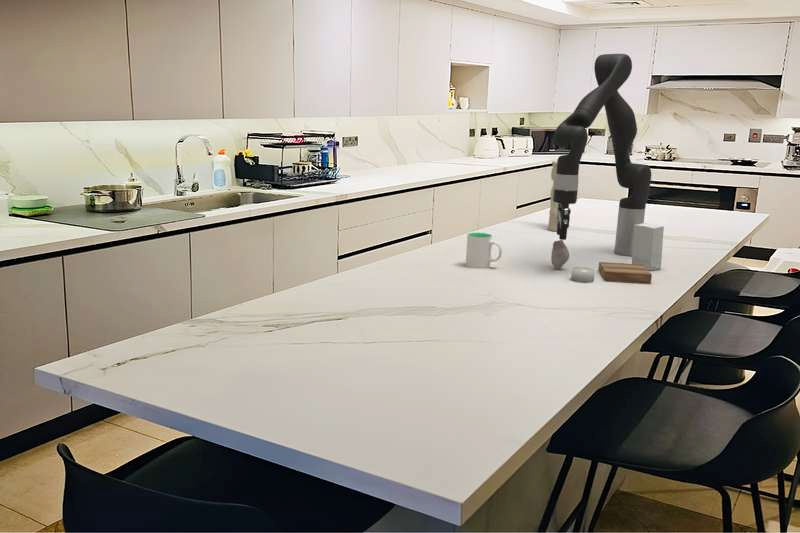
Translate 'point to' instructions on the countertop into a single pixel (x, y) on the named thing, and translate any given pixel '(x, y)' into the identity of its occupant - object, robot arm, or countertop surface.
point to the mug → (480, 250)
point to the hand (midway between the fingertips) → (561, 237)
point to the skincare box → (648, 245)
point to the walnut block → (624, 272)
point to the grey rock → (559, 254)
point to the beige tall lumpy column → (554, 206)
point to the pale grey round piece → (582, 274)
